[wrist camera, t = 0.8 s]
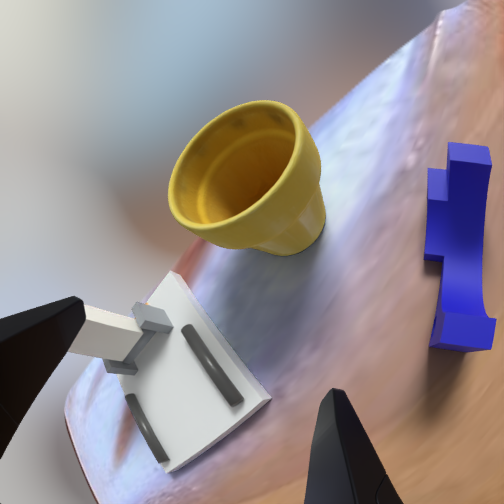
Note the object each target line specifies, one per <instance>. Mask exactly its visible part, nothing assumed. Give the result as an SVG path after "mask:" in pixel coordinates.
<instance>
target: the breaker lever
mask: <svg viewBox="0 0 504 504" xmlns="http://www.w3.org/2000/svg"><path fill="white" fill-rule="evenodd" d="M84 307H85V313H86V321H85V323H84V325H83V326H82V328H81V330H80V331H79V333H78V335H77V336H76V338H75V340H74V341H73V343H72V345H71V347H70V348H69V350H68V352H72V353H76V354H82V355H87V356H92V357H98V358H104V359H110V360H116V361H123V362H124V363H126V364H132V363H133V361H134V360H135V359H136V357H137V356H138V355H139V354H140V352H141V351H142V350H143V348H144V347H145V346H146V345H147V343H148V342H149V341H150V339H151V338H152V337H153V336H154V334H155V333H156V332H157V331H152V330H147V329H143V328H140V327H139V325H138V323H137V321H136V319H134V318H130V317H126V316H122V315H119V314H115V313H112V312H108V311H105V310H101V309H98V308H95V307H92V306H88V305H85V304H84Z"/></svg>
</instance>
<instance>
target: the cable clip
mask: <svg viewBox="0 0 504 504" xmlns="http://www.w3.org/2000/svg"><path fill="white" fill-rule="evenodd" d="M491 168H492V162H491V157H490V153H489V148H488V147H486V146H479V145H471V144H462V143H453V142H448V154H447V169H446V170H443V169H432V168H428V189H427V225H426V240H425V252H424V260H430V261H438V262H442V271H441V280H440V288H439V295H438V301H437V308H436V313H435V319H434V324H433V329H432V334H431V338H430V343H429V347H434V348H440V349H447V350H454V351H461V352H474V351H483V350H491V348H492V343H493V337H494V332H495V325H496V319H495V318H489V317H488V316H487V314H486V312H485V309H484V304H483V295H482V255H483V236H484V222H485V210H486V200H487V192H488V184H489V178H490V172H491Z"/></svg>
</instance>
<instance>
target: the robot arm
mask: <svg viewBox="0 0 504 504" xmlns="http://www.w3.org/2000/svg"><path fill="white" fill-rule="evenodd" d="M85 321H86V313H85V307H84V303H83V301H82V300H81V299H80V298H78V297H75V296H71V297H68V298H65V299H62V300H59V301H55V302H52V303H49V304H46V305H43V306H40V307H36V308H33V309H30V310H27V311H23V312H20V313H17V314H14V315H11V316H8V317H4V318H1V319H0V459H1V457H2V456H3V454H4V452H5V450H6V448H7V446H8V444H9V442H10V441H11V439H12V437H13V435H14V433H15V432H16V430H17V428H18V426H19V425H20V423H21V421H22V419H23V418H24V416H25V414H26V413H27V411H28V410H29V408H30V406H31V405H32V403H33V402H34V400H35V398H36V397H37V395H38V394H39V392H40V391H41V389H42V388H43V386H44V385H45V383H46V382H47V380H48V379H49V377H50V376H51V374H52V373H53V371H54V370H55V369H56V367H57V366H58V364H59V363H60V362H61V360H62V359H63V357H64V356H65V354H66V353H67V352H68V350H69V348H70V347H71V345H72V343H73V341H74V340H75V338H76V336H77V335H78V333H79V331H80V330H81V328H82V326H83V325H84V323H85ZM0 504H1V503H0ZM304 504H403V502H402V500H401V499H400V497H399V495H398V494H397V492H396V490H395V488H394V486H393V485H392V483H391V481H390V479H389V477H388V475H387V474H386V471H385V469H384V467H383V465H382V463H381V461H380V459H379V457H378V455H377V453H376V451H375V449H374V447H373V445H372V443H371V441H370V439H369V437H368V435H367V433H366V432H365V430H364V428H363V426H362V424H361V422H360V420H359V418H358V416H357V414H356V412H355V410H354V408H353V406H352V405H351V403H350V401H349V399H348V397H347V395H346V393H345V391H344V390H341V389H336V388H332V389H330V391H329V392H328V393H327V395H326V396H325V397H324V399H323V400H322V402H321V404H320V407H319V412H318V417H317V422H316V426H315V431H314V436H313V440H312V445H311V453H310V462H309V471H308V479H307V486H306V494H305V500H304Z"/></svg>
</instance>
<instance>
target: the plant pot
mask: <svg viewBox="0 0 504 504" xmlns="http://www.w3.org/2000/svg"><path fill="white" fill-rule="evenodd" d="M320 175H321V160H320V155H319V152H318V149H317V147H316V145H315V143H314V141H313V139H312V137H311V135H310V133H309V131H308V130H307V128H306V126H305V125H304V123H303V122H302V120H301V119H300V117H299V116H298V114H297V113H295V111H294V110H292V109H291V108H290V107H288V106H286V105H285V104H282V103H280V102H276V101H267V100H266V101H265V100H261V101H253V102H248V103H245V104H241V105H238V106H236V107H234V108H231V109H229V110H227V111H225V112H224V113H222V114H220V115H219V116H217V117H216V118H214V119H213V120H212V121H210V122H209V123H208V124H207V125H205V126H204V127H203V128H202V129H201V130H200V131H199V132H198V133H197V134H196V135H195V136H194V137H193V139H192V140H191V141H190V142H189V143H188V145H187V146H186V148H185V149H184V150H183V152H182V154H181V155H180V157H179V159H178V161H177V163H176V165H175V167H174V169H173V172H172V175H171V179H170V182H169V187H168V202H169V207H170V211H171V213H172V215H173V217H174V218H175V219H176V221H177V222H178V223H179V224H180V225H181V226H183V227H184V228H186V229H187V230H189V231H191V232H192V233H194V234H196V235H197V236H199V237H201V238H203V239H204V240H206V241H208V242H211V243H213V244H215V245H217V246H220V247H223V248H227V249H246V248H253V249H257V250H261V251H264V252H267V253H271V254H274V255H279V256H288V255H293V254H296V253H299V252H301V251H303V250H305V249H306V248H308V247H309V246H310V245H311V244H313V242H314V241H315V240H316V239H317V238H318V236H319V235H320V233H321V231H322V229H323V226H324V223H325V217H326V212H325V206H324V202H323V197H322V193H321V189H320V185H319V181H320Z"/></svg>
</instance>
